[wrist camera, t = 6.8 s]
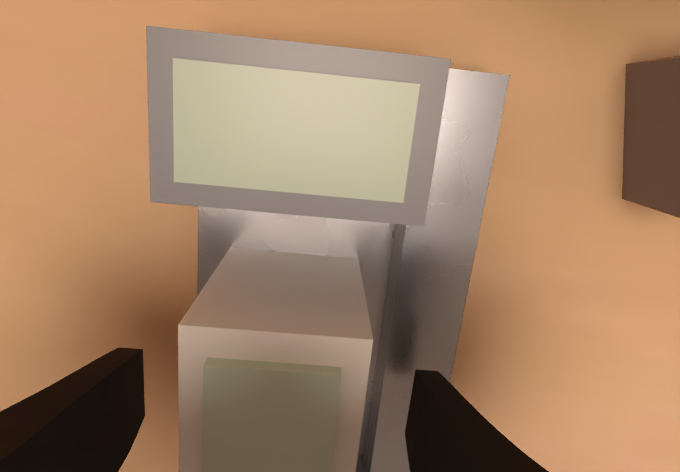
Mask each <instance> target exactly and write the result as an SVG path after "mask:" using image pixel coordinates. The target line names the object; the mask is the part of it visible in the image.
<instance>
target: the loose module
mask: <svg viewBox="0 0 680 472" xmlns="http://www.w3.org/2000/svg"><path fill="white" fill-rule="evenodd" d="M372 345H373V336H372V330H371V325H370V319H369V314H368V308H367V303H366V298H365V292H364V287H363V281H362V276H361V270H360V265H359V260H358V258H348V257H336V256H324V255H312V254H301V253H289V252H277V251H265V250H253V249H242V248H230V249H229V250H228V252H227V253H226V255H225V256H224V258H223V259H222V260H221V262H220V263H219V265H218V266H217V268H216V269H215V271H214V272H213V274H212V275H211V277H210V278H209V280H208V281H207V283H206V284H205V286H204V287H203V289H202V290H201V292H200V293H199V295H198V296H197V297H196V299H195V300H194V302H193V303H192V305H191V306H190V308H189V309H188V311H187V312H186V314H185V315H184V317H183V318H182V320H181V321H180V323H179V324H178V399H179V472H356V465H357V457H358V450H359V442H360V435H361V427H362V420H363V412H364V405H365V398H366V390H367V383H368V375H369V368H370V360H371V353H372Z"/></svg>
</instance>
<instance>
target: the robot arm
mask: <svg viewBox="0 0 680 472" xmlns="http://www.w3.org/2000/svg"><path fill="white" fill-rule="evenodd" d="M144 416H145V404H144V373H143V349H131V348H117V349H115V350H113V351H111V352H109V353H107V354H105V355H104V356H102V357H100V358H98V359H96V360H95V361H93V362H91V363H89V364H88V365H86V366H84V367H82V368H81V369H79V370H77V371H75V372H74V373H72V374H70V375H68V376H67V377H65V378H63V379H61V380H60V381H58V382H56V383H54V384H52V385H51V386H49V387H47V388H45V389H43V390H41V391H39V392H37V393H36V394H34V395H32V396H30V397H28V398H26V399H24V400H22V401H20V402H18V403H16V404H14V405H12V406H10V407H9V408H7V409H5V410H3V411H1V412H0V472H118V471H119V469H120V467H121V465H122V464H123V462H124V460H125V459H126V457H127V455H128V453H129V451H130V449H131V447H132V445H133V442H134V440H135V438H136V436H137V433H138V431H139V428H140V426H141V424H142V421H143V419H144ZM405 439H406V447H407V455H408V462H409V469H410V472H548V471H547V470H546V469H544V468H543V467H542V466H540V465H539V464H538V463H536V462H535V461H534V460H532V459H531V458H530V457H528V456H527V455H526V454H525V453H524V452H522V451H521V450H520V449H519V448H517V447H516V446H515V445H514V444H513V443H512V442H511V441H509V440H508V439H507V438H506V437H505V436H504V435H503V434H501V433H500V432H499V431H498V430H497V429H496V428H495V427H494V426H493V425H491V424H490V423H489V422H488V421H487V420H486V419H485V418H484V417H483V416H482V415H481V414H480V413H479V412H478V411H477V410H476V409H475V408H474V407H473V406H472V405H471V404H470V403H469V402H468V401H467V400H466V399H465V398H464V397H463V396H462V395H461V394H460V393H459V392H458V391H457V390H456V389H455V388H454V387H453V386H452V385H451V384H450V383H449V381H448V380H447V379H446V378H445V377H444V376H443V375H442V374H441V373H439V372H438V371H431V370H417V369H415V375H414V381H413V387H412V393H411V399H410V405H409V411H408V417H407V422H406V428H405Z"/></svg>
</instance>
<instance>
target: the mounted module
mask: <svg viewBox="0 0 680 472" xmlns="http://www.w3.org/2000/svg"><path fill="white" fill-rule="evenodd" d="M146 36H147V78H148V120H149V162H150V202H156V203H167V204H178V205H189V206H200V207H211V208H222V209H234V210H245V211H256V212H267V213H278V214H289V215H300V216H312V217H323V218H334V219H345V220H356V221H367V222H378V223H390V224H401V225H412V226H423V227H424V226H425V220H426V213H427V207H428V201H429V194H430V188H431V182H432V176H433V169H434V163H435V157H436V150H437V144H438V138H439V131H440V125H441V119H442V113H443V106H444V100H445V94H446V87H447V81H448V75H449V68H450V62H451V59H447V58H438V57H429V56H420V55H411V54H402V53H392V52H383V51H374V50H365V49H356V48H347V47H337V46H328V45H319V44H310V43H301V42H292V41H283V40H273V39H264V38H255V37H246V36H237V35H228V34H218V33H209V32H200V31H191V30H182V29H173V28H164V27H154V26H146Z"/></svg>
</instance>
